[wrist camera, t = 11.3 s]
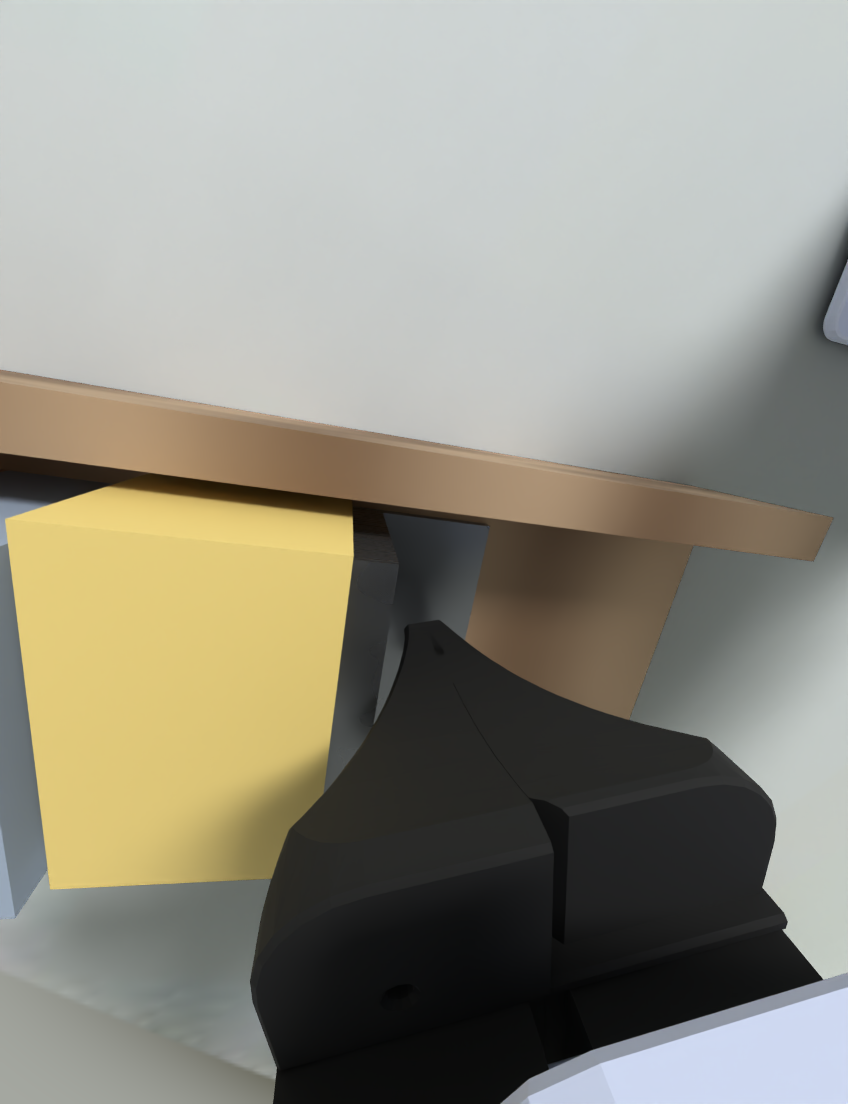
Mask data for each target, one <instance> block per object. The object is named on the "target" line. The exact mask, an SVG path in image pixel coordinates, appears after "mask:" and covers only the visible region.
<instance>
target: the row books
mask: <svg viewBox="0 0 848 1104" xmlns="http://www.w3.org/2000/svg"><path fill="white" fill-rule="evenodd" d="M110 485H113V484H111V483H103V482H95V481H88V480H80V479H72V478H64V477H56V476H48V475H40V474H32V473H24V472H16V471H9V470H1V469H0V919H12V918H16V917H17V915H18V913H19V912H20V910H21V909H22V907H23V906H24V904H25V903H26V901H27V900H28V898H29V897H30V895H31V894H32V892H33V891H34V889H35V888H36V886H37V885H38V883H39V882H40V880H41V878H42V877H43V875H44V874H45V872H46V871H47V869H48V867H47V859H46V851H45V843H44V835H43V826H42V818H41V810H40V802H39V794H38V785H37V777H36V769H35V761H34V753H33V745H32V736H31V728H30V720H29V712H28V704H27V696H26V687H25V679H24V671H23V663H22V655H21V646H20V638H19V630H18V622H17V614H16V606H15V597H14V589H13V581H12V573H11V565H10V557H9V548H8V540H7V532H6V524H5V519H6V518H10V517H13V516H16V515H19V514H22V513H25V512H28V511H32V510H35V509H38V508H41V507H44V506H47V505H50V504H53V503H57V502H60V501H63V500H66V499H69V498H72V497H75V496H79V495H82V494H85V493H88V492H91V491H94V490H97V489H101V488H104V487H107V486H110Z"/></svg>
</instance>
